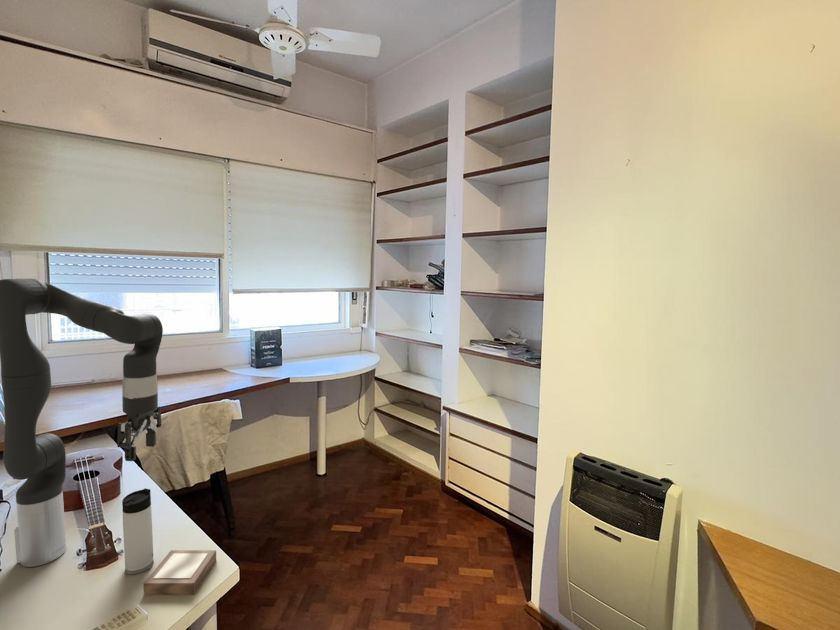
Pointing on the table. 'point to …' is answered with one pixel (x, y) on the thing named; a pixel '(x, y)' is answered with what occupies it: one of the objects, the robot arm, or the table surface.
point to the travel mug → (137, 531)
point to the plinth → (180, 572)
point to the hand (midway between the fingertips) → (141, 453)
